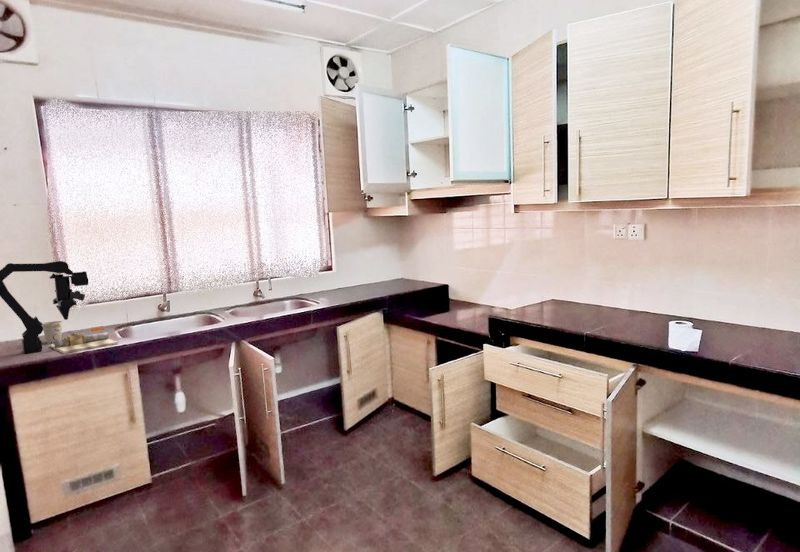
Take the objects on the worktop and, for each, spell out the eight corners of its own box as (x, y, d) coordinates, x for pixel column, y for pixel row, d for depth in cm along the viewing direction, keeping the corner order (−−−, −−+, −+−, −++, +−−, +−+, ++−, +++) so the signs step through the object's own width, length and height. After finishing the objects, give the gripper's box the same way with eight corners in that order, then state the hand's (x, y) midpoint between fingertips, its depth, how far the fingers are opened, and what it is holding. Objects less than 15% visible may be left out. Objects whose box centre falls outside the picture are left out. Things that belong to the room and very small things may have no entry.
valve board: (63, 353, 217) (62, 341, 216) (50, 346, 233) (48, 335, 232) (117, 344, 233) (116, 332, 233) (101, 338, 249) (100, 328, 249)
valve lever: (71, 335, 230) (71, 330, 230) (71, 334, 232) (70, 330, 232) (103, 330, 238) (103, 326, 238) (103, 330, 240) (102, 326, 240)
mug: (49, 344, 239) (46, 324, 238) (36, 342, 245) (34, 323, 245) (67, 340, 246) (65, 321, 246) (54, 339, 253) (52, 320, 252)
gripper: (87, 286, 229) (90, 318, 231) (78, 284, 242) (81, 315, 244) (59, 289, 221) (62, 322, 223) (51, 287, 235) (54, 318, 236)
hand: (66, 319), depth 232 cm, fingers closed
